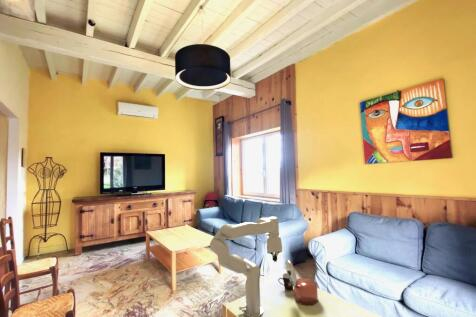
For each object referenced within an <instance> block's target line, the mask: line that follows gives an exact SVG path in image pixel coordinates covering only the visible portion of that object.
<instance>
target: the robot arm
mask: <svg viewBox="0 0 476 317" xmlns="http://www.w3.org/2000/svg"><path fill="white" fill-rule="evenodd" d="M265 234H266V237H267V238H266V250H267V251H266V253H267V254H270V255H271V256H272V261H273V262H274V263H276V262H277V261H278V256H279V254H280V253H282V252H283V243H282V238H281V235H280V226H279V218H278V217H277V216H269V217H259V218H258V219H257V220H256V222H251V221H250V222H249V221H248V222H247V221H246V222H242V223H239V224H234V225H231V224H228V223H225V224H223V225H222V226H221V227H220V228H219V229H218V231H216V233H215V235H214V236H213V237H212V239H211V240H210V243H209V248H210V250H211V251H212V252H213V253H214V254H216V256H217V261H218V263H219V265H220V266H221V267H222V268H225V269H227V270H230V271H232V272H234V273H236V274H243V275H244V276H245V277H246V280H245V284H244V286H245V303H244V305H242V306H238V309H239V311H241V312H243V313H245V314H244V315H245V316H246V315H247V316H246V317H248V316H249V317H262V315H263V314H264V309H263V308H262V306H261V289H260V288H261V286H260V283H261V282H260V279H261V269H260V267H259V265H258V264H256V263H254V262H253V261H250V259H248V258H245V257H242V256H240V255H238V254H234V253H232V254H231V252H230V247H229V245H228V244H227V243H226V240H227V239H228V240H230V241H232V240H233V241H234V240H238V239H241V238H243V237H244V238H245V237H247V236H257V235H258V236H259V235H265Z"/></svg>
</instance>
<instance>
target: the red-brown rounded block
mask: <svg viewBox="0 0 476 317" xmlns="http://www.w3.org/2000/svg"><path fill="white" fill-rule="evenodd" d="M293 291H294V292H293V293H294V301H295V302H296V303H298V304H300V305H303V306H314V305H316V304H317V303H318V302H319V298H318V283H317V282H316V281H315V280H313V279H311V278H307V277H306V278H305V277H301V278H300V277H299V278H297V285H296V286H293Z"/></svg>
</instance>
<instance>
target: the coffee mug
mask: <svg viewBox="0 0 476 317" xmlns="http://www.w3.org/2000/svg"><path fill="white" fill-rule="evenodd" d="M280 279H281V280H282V281H283V283H282V282H281V281H280ZM278 283H279V284H280V285H282V286H284V289H285V291H288V292H291V291H294V286H293V285H292V284H291V282H290V280H289V278H288V275H287V272H286V273H283V274H282V277H279V278H278Z"/></svg>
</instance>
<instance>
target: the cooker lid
mask: <svg viewBox="0 0 476 317" xmlns="http://www.w3.org/2000/svg"><path fill="white" fill-rule="evenodd" d="M284 265H285V271H286V273H287V275H288V278H289V280H290V282H291V284H292V285H293V287H294V286H296V285H297V279H298V278H297V273H296V270H295V268H294V265H293V263H292V261H290V259H286V260H285V264H284Z"/></svg>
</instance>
